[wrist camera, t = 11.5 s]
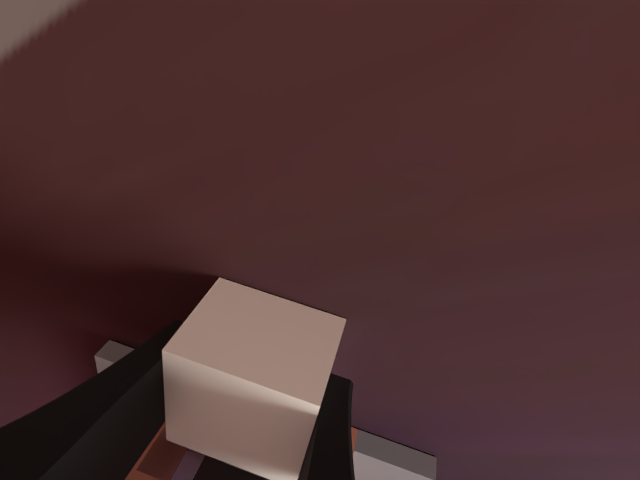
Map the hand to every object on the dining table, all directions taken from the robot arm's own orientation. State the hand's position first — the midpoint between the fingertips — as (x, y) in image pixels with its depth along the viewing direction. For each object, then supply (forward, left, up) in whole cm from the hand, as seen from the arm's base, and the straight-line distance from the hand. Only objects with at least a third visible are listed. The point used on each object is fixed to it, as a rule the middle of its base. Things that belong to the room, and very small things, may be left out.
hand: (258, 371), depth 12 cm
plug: (-3, +1, -1) cm, 4 cm away
